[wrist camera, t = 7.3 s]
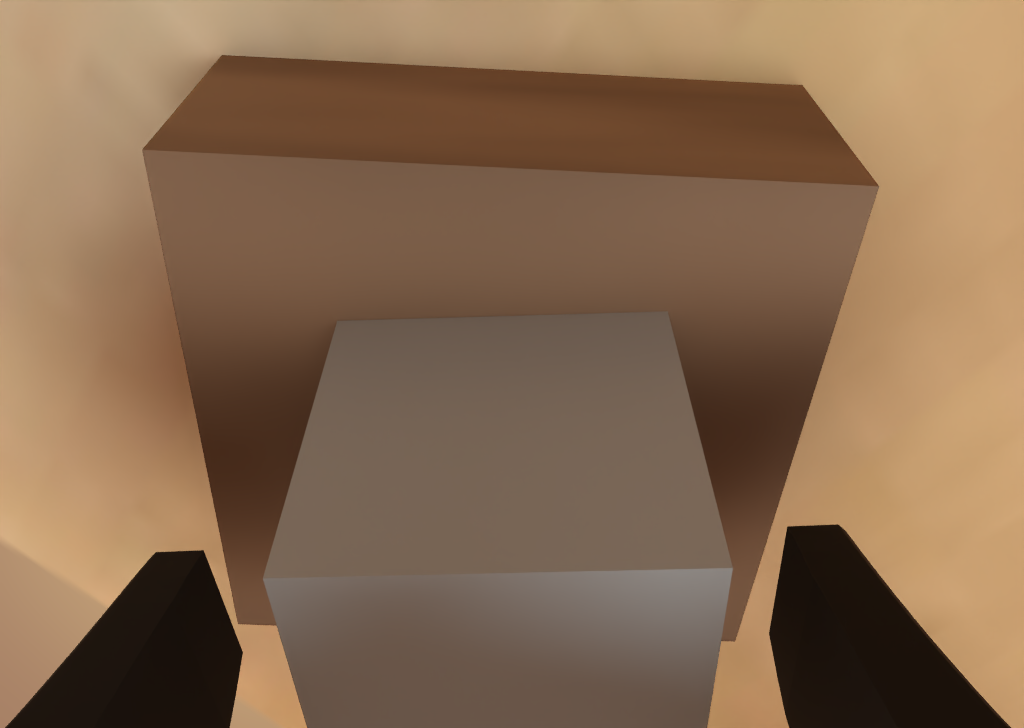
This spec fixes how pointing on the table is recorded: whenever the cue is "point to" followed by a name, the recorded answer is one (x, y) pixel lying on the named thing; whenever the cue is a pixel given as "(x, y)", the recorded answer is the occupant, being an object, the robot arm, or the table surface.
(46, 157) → the table surface
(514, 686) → the grey cube
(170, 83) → the table surface
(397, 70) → the walnut block
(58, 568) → the table surface
